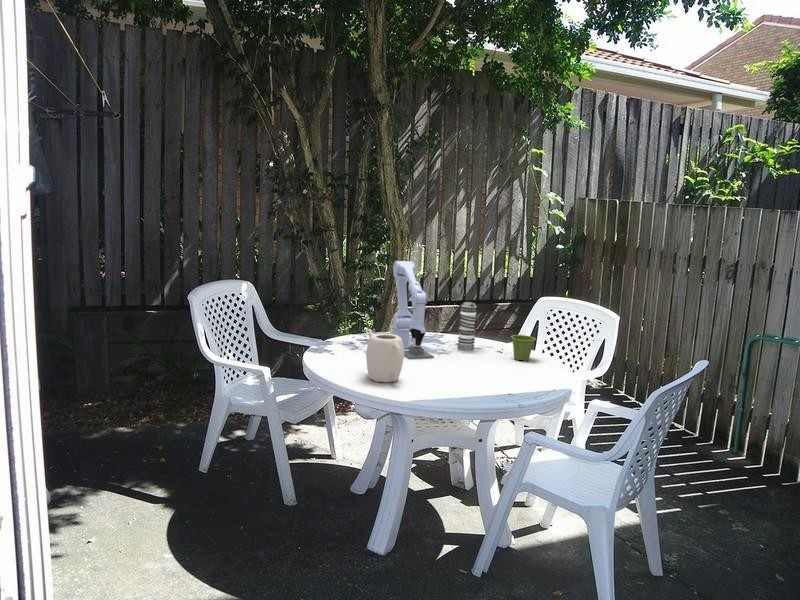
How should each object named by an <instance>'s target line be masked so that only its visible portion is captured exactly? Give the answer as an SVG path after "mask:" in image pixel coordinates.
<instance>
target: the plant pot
mask: <svg viewBox="0 0 800 600" xmlns="http://www.w3.org/2000/svg"><path fill="white" fill-rule="evenodd" d="M511 338H512V348H513V349H512V350H513V359H514V360H515V359H516V360H515V361H518V360H523V361H522V362H527V360H528V361H529V360H530V357H531V353H532V349H533V345H534V343H535V341H536V338H535V337H534V336H530V335H526V334H525V335H523V334H514V335H511Z"/></svg>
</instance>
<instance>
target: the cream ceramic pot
mask: <svg viewBox="0 0 800 600" xmlns="http://www.w3.org/2000/svg"><path fill="white" fill-rule="evenodd" d="M367 332H368V337H369V340H368V343H367V346H366V352H365V357H366V358H365V360H366V369H367V373H368V374H367V375H368V378H369V379H371V380H372V381H374V382H377V383H378V382H379V383H380V382H381V383H385V384H386V383H393V382H397V380H398V379H399V377H400V374H401V373H402V368H403V365H404V364H403V363H404V358H405V356H404V351H405V349H404V345H403V342H402V338H400V337H399V336H397V335H394V334H391V333H376V334H373V331H372V329H368V330H367Z"/></svg>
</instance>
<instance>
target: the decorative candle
mask: <svg viewBox="0 0 800 600" xmlns="http://www.w3.org/2000/svg"><path fill="white" fill-rule="evenodd" d="M460 307H461V308H460V312H459V313H458V315H459V316H458V318H459V319H458V325H459V326H458V329H459V332H458V337H457V342H458V343H457V347H456V348H457V352H459V353H464V354H472V353H474V352H475V351H474V350H475V340H476V338H475V330H476V328H477V327H476V326H477V324H476V322H478V320H477V319H478V317H477V307H478V306H477V305H476V303H475V302H471V301H469V302H468V301H465V302H463V303H462V304H460Z"/></svg>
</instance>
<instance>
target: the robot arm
mask: <svg viewBox="0 0 800 600" xmlns="http://www.w3.org/2000/svg"><path fill="white" fill-rule="evenodd" d="M415 269H416V265H415V262H414V261H413V260H407V261H406V260H405V261H403V260H395V261H394V263H393V267H392V270H393V271H392V272H393V277H394V278H395V279H396V296H397V311H396V312H395V313H394V314H393V316H392V327H393V329H392V330H391V331H390V332H391V333H390V334H394V335H397V336H399V337H400V338H402V342H403V345H404V350H405V349H409V346H411V345H410V335H411V339H412V341H413V338H415V340H416V346H420V345H422V342H423V339H424V337H425V335H426V332H427V329H426V328H425V313H426V305H427V304H428V294H427V292H425V291H423V289H422V286H421V283H420V282H419V281H417V279H416V275H415ZM407 282H408V288H407ZM407 289H408V290H409V292H410V294H411V306H412V307H411V308H412V312H410V311H409V309H408V291H407Z"/></svg>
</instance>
